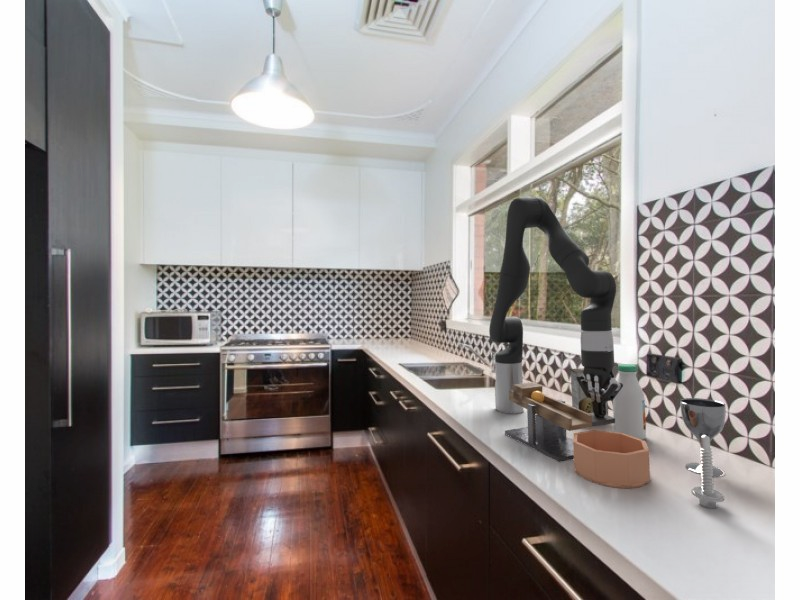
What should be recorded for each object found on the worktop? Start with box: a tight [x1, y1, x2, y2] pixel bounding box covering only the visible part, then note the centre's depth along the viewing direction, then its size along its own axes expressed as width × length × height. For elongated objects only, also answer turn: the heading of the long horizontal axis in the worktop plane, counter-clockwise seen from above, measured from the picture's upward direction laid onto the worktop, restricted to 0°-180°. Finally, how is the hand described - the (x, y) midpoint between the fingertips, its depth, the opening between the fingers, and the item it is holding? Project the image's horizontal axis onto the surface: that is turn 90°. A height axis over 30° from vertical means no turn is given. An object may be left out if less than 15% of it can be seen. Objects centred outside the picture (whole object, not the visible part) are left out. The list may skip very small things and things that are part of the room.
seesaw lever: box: [509, 381, 615, 432], centre depth 106 cm, size 24×15×5 cm, turn 20°
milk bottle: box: [612, 363, 647, 441], centre depth 108 cm, size 8×8×20 cm
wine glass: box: [679, 397, 727, 478], centre depth 86 cm, size 8×8×15 cm
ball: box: [531, 391, 545, 403], centre depth 108 cm, size 4×4×4 cm
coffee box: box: [570, 367, 609, 416], centre depth 124 cm, size 9×6×16 cm
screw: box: [690, 435, 726, 509], centre depth 72 cm, size 13×5×5 cm
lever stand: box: [504, 399, 574, 463], centre depth 105 cm, size 22×12×11 cm, turn 20°
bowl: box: [572, 429, 651, 489], centre depth 86 cm, size 14×14×7 cm
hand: (599, 416), depth 99 cm, fingers closed
